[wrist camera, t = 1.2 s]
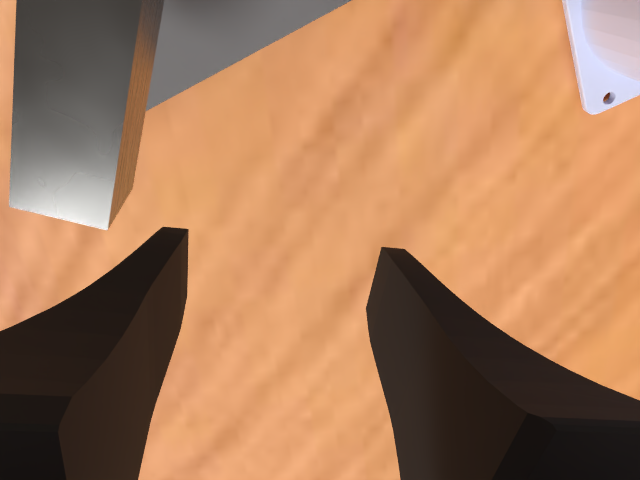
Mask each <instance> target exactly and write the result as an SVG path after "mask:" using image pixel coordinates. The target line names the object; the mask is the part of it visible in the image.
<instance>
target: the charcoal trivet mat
mask: <svg viewBox="0 0 640 480" xmlns="http://www.w3.org/2000/svg"><path fill="white" fill-rule="evenodd" d="M349 1H351V0H164V6H163V12H162V18H161V24H160V29H159V35H158V41H157V47H156V53H155V59H154V65H153V70H152V76H151V82H150V88H149V94H148V100H147V106H146V111H147V110H149V109H151V108H153V107H154V106H156V105H158V104H160V103H162V102H164V101H166V100H167V99H169V98H171V97H173V96H175V95H177V94H179V93H180V92H182V91H184V90H186V89H188V88H190V87H191V86H193V85H195V84H197V83H199V82H201V81H203V80H204V79H206V78H208V77H210V76H212V75H214V74H216V73H217V72H219V71H221V70H223V69H225V68H227V67H229V66H230V65H232V64H234V63H236V62H238V61H240V60H242V59H243V58H245V57H247V56H249V55H251V54H253V53H255V52H256V51H258V50H260V49H262V48H264V47H266V46H268V45H269V44H271V43H273V42H275V41H277V40H279V39H281V38H282V37H284V36H286V35H288V34H290V33H292V32H294V31H295V30H297V29H299V28H301V27H303V26H305V25H307V24H308V23H310V22H312V21H314V20H316V19H318V18H320V17H321V16H323V15H325V14H327V13H329V12H331V11H333V10H334V9H336V8H338V7H340V6H342V5H344V4H346V3H347V2H349Z"/></svg>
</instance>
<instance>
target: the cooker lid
mask: <svg viewBox="0 0 640 480" xmlns="http://www.w3.org/2000/svg"><path fill="white" fill-rule="evenodd" d="M163 6H164V0H17V4H16V31H15V59H14V86H13V113H12V141H11V168H10V196H9V207H12V208H16V209H20V210H25V211H29V212H33V213H37V214H41V215H45V216H50V217H54V218H58V219H62V220H66V221H71V222H75V223H79V224H83V225H87V226H91V227H96V228H100V229H104V230H108V229H109V227H110V225H111V224H112V222H113V220H114V219H115V217H116V215H117V214H118V212H119V210H120V209H121V207H122V205H123V203H124V202H125V200H126V198H127V197H128V195H129V193H130V192H131V190H132V187H133V182H134V176H135V170H136V164H137V158H138V152H139V146H140V141H141V135H142V129H143V123H144V117H145V111H146V106H147V100H148V94H149V88H150V82H151V76H152V70H153V65H154V59H155V53H156V47H157V41H158V35H159V29H160V24H161V18H162V12H163Z"/></svg>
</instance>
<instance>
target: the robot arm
mask: <svg viewBox="0 0 640 480" xmlns="http://www.w3.org/2000/svg"><path fill="white" fill-rule="evenodd" d="M562 3H563V8H564V14H565V19H566V24H567V30H568V35H569V40H570V45H571V51H572V56H573V61H574V66H575V72H576V77H577V82H578V88H579V93H580V98H581V103H582V107H583V110H584V111H586V112H587V113H589V114H593V115H595V114H599V113H601V112H603V111H605V110H608V109H610V108H612V107H614V106H616V105H619V104H621V103H623V102H625V101H627V100H630V99H632V98H634V97H636V96H638V95H640V0H562ZM609 92H610V97H609V98H608V100H606V101H604V102H603V98H604V96H605V95H606V94H607V93H609ZM187 277H188V229H182V228H171V227H162V228H161V229H160V230H158V231H157V232H156V233H155V234H154V235H153V236H151V237H150V238H149V239H148V240H147V241H146V242H145V243H143V244H142V245H141V246H140V247H139V248H138V249H137V250H135V251H134V252H133V253H132V254H131V255H129V256H128V257H127V258H126V259H124V260H123V261H122V262H121V263H119V264H118V265H117V266H116V267H114V268H113V269H112V270H111V271H109V272H108V273H106V274H105V275H104V276H102V277H101V278H99V279H98V280H97V281H95V282H94V283H92V284H91V285H89V286H88V287H86V288H85V289H83V290H82V291H80V292H78V293H77V294H75V295H73V296H71V297H70V298H68V299H66V300H64V301H63V302H61V303H59V304H57V305H56V306H54V307H52V308H50V309H48V310H46V311H44V312H41V313H39V314H37V315H35V316H33V317H31V318H29V319H27V320H25V321H23V322H20V323H18V324H16V325H14V326H12V327H9V328H7V329H5V330H2V331H0V480H138V477H139V472H140V467H141V463H142V458H143V454H144V449H145V445H146V440H147V436H148V431H149V427H150V422H151V418H152V415H153V411H154V408H155V404H156V401H157V398H158V395H159V392H160V389H161V386H162V383H163V380H164V377H165V374H166V371H167V368H168V365H169V362H170V360H171V357H172V354H173V351H174V348H175V345H176V341H177V338H178V335H179V332H180V329H181V324H182V320H183V315H184V309H185V304H186V299H187ZM366 312H367V321H368V330H369V337H370V343H371V347H372V351H373V354H374V358H375V362H376V366H377V369H378V373H379V377H380V380H381V384H382V388H383V391H384V395H385V399H386V402H387V406H388V410H389V413H390V418H391V422H392V427H393V432H394V438H395V444H396V451H397V457H398V463H399V470H400V478H401V480H640V401H639V400H637V399H634V398H632V397H629V396H627V395H624V394H622V393H619V392H617V391H614V390H612V389H609V388H607V387H605V386H602V385H600V384H598V383H595V382H593V381H591V380H589V379H587V378H585V377H583V376H581V375H579V374H576V373H574V372H572V371H570V370H568V369H566V368H564V367H562V366H560V365H559V364H557V363H555V362H553V361H551V360H549V359H547V358H546V357H544V356H542V355H540V354H539V353H537V352H535V351H533V350H532V349H530V348H528V347H526V346H525V345H523V344H521V343H520V342H518V341H517V340H515V339H513V338H512V337H510V336H509V335H508V334H506V333H505V332H503V331H502V330H500V329H499V328H497V327H496V326H494V325H493V324H491V323H490V322H489V321H487V320H486V319H485V318H483V317H482V316H481V315H479V314H478V313H477V312H476V311H474V310H473V309H472V308H471V307H469V306H468V305H467V304H465V303H464V302H463V301H462V300H461V299H459V298H458V297H457V296H456V295H455V294H454V293H452V292H451V291H450V290H449V289H448V288H447V287H446V286H445V285H444V284H442V283H441V282H440V281H439V280H438V279H437V278H436V277H435V276H434V275H433V274H432V273H430V272H429V271H428V270H427V269H426V268H425V267H424V266H423V265H422V264H421V263H420V262H419V261H418V260H416V259H415V258H414V257H413V256H412V255H411V254H410V253H409V252H407V251H406V250H405V249H398V248H387V247H382V248H381V252H380V256H379V259H378V263H377V267H376V271H375V275H374V279H373V283H372V287H371V291H370V295H369V299H368V303H367V307H366Z"/></svg>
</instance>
